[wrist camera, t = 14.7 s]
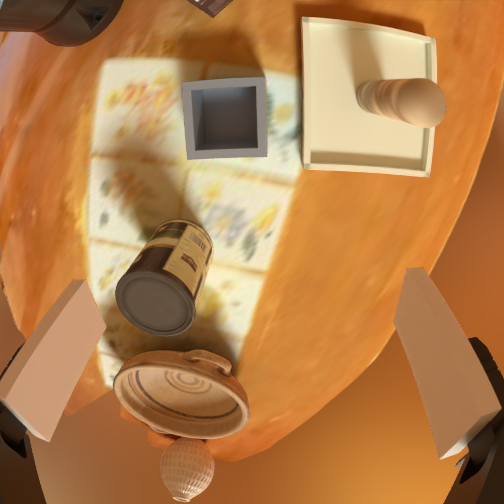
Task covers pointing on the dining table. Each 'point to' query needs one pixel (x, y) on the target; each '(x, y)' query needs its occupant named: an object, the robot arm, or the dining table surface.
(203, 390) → the ceramic bowl
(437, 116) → the dowel
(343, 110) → the tray
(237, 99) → the grey square bin
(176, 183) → the dining table surface
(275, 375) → the dining table surface
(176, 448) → the vase
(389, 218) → the dining table surface
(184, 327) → the coffee can
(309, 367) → the dining table surface
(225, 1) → the box
